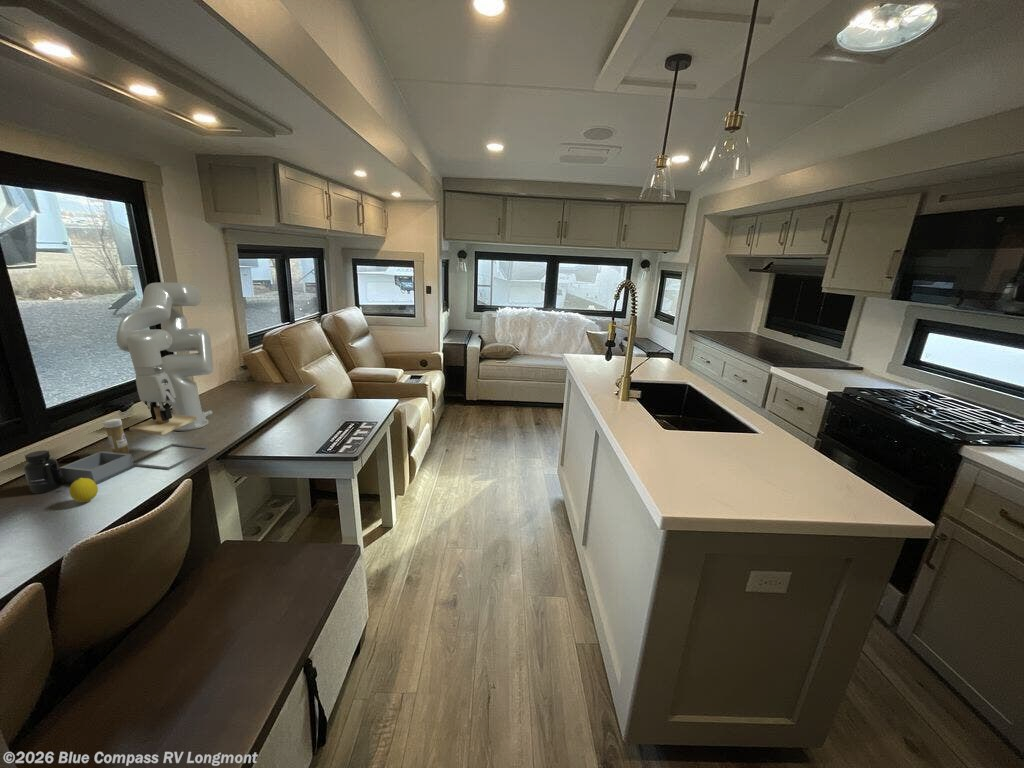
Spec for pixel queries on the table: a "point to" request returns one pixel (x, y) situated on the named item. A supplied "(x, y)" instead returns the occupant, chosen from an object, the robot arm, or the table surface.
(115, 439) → the sprinkles bottle
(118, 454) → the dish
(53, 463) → the supplement bottle
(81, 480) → the lemon
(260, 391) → the table surface
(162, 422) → the lid
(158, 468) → the picture frame
